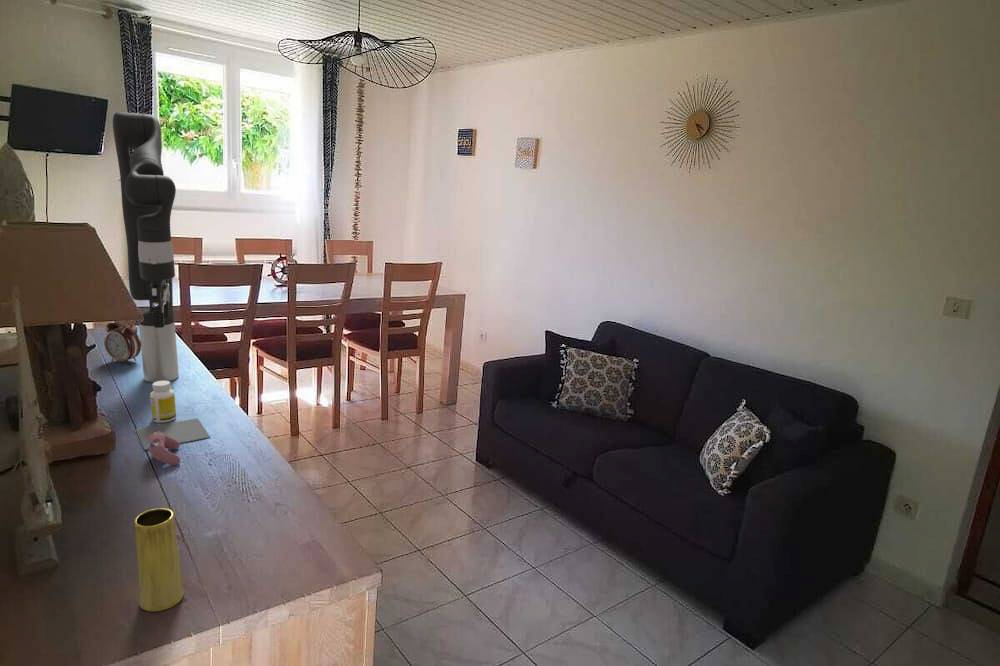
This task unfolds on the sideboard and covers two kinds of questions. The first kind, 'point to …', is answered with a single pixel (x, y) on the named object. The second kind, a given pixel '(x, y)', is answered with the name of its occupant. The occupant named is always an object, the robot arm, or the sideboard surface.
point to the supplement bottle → (162, 402)
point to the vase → (158, 560)
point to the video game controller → (163, 448)
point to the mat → (174, 432)
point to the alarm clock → (122, 341)
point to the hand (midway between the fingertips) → (162, 322)
